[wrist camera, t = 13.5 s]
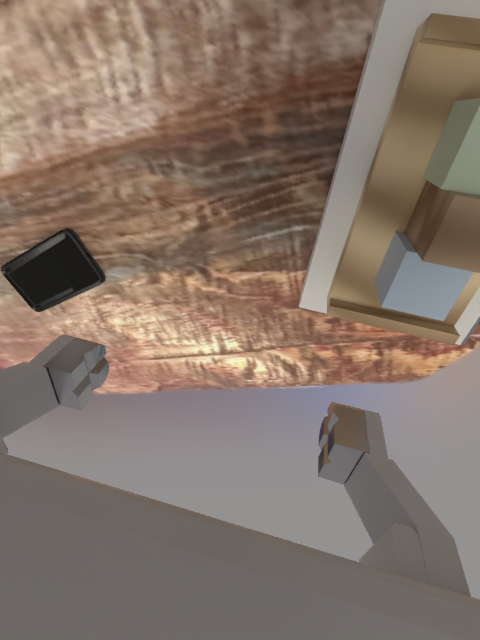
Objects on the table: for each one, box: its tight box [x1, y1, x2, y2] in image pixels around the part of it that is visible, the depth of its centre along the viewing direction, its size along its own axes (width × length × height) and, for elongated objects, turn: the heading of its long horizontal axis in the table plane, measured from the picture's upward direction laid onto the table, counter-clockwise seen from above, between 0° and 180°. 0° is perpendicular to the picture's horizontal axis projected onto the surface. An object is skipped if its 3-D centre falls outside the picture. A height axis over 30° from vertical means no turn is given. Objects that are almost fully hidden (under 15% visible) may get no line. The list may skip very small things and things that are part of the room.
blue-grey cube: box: [374, 231, 473, 321], centre depth 24 cm, size 4×4×4 cm
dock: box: [299, 0, 480, 345], centre depth 27 cm, size 24×16×4 cm
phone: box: [1, 228, 105, 312], centre depth 43 cm, size 8×1×15 cm
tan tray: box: [327, 13, 480, 345], centre depth 22 cm, size 20×11×8 cm, turn 172°
